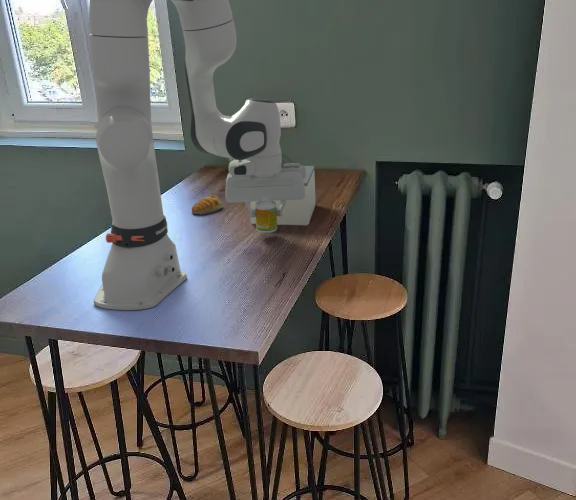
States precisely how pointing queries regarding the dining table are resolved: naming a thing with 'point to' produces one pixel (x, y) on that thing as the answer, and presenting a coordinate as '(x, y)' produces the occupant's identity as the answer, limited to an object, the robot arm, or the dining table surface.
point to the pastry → (207, 205)
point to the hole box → (297, 204)
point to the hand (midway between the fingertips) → (266, 216)
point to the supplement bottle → (266, 215)
